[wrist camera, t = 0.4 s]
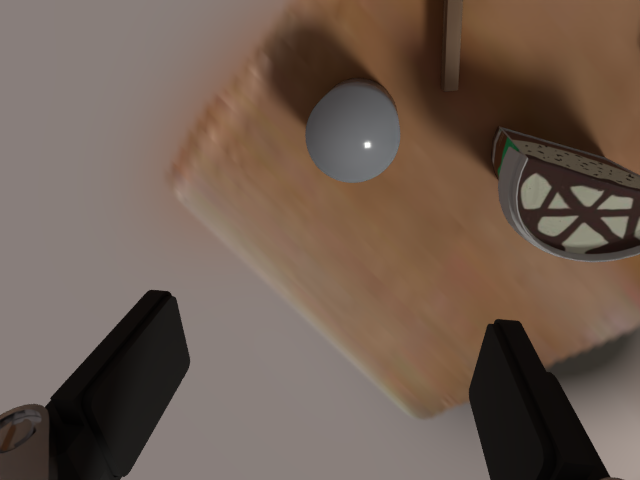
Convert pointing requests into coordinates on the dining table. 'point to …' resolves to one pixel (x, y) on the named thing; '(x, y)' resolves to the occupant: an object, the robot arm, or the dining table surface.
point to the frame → (451, 44)
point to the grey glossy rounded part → (354, 131)
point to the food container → (567, 198)
